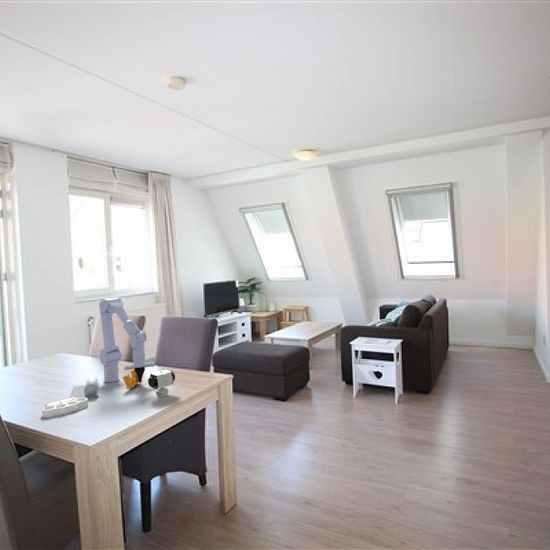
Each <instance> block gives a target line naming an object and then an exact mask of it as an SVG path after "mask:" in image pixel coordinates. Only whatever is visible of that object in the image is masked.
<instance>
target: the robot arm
mask: <svg viewBox="0 0 550 550" xmlns="http://www.w3.org/2000/svg"><path fill="white" fill-rule="evenodd" d="M98 304H99V305H98V307H99V315H100V319H101V320H100V322H101V327H102V328H101V329H102V337H103V347H102V348H101V349H100V351H99V362H100V364H102V365H103V376H104V377H103V383H105V382H106V383H111V382H118V381H119V382H120V379H121V378H120V374H119V373H120V372H119V371H120V370H119V363H120V361H121V359H122V353H121V349H120V347H119V346H118V345H116V341H115V332H114V325H113V324H114V322H113V315H114V314H115V315H116V316H117V317H118V318H119V319H120V321H121V322H122V324H123V328H124V330H125V332H126V333H127V334H128V336H129V338H128V340H129V343H130V346H131V349H132V363H133V364H128V365H123V369H124V371H127V370H128V371H129V370H135V372H136V374H137V376H138V379H139V382H138V384H139V383H142V380H143V376H144V373H145V371H146V368H149V367H151V368H152V367H155V362H154V361H149V362H146V355H145V342H146V341H147V334H146V332H145V331H143V330H142V329H140V328H139V327H138V325H137V324H136V322H135V321H134V320H131V319H130V318H129V316H128V314H127V312H126V310H125V309H124V302H123V301H122V299H121V298H120V297H119V296H118V297H112V298H103V299H101V300H100V302H99V303H98Z"/></svg>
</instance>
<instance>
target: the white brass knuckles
mask: <svg viewBox="0 0 550 550" xmlns="http://www.w3.org/2000/svg"><path fill="white" fill-rule="evenodd" d="M86 406H87V407H89V399H88V398H75V397H72V398H70V397H69V398H67V399H62V400H58V401H54V402H51V403H46V404H44V407H43V408H41V414H42V415H41V416H42V418H52V417H55V415H56V416H63V415H62V414H64V415H67V414H69V413H68V412H70V413H73V412H72V411H75V412H77V411H79V410H81V409H83V408H82V407H85V408H87V407H86ZM80 408H81V409H80ZM78 409H79V410H78ZM76 410H77V411H76ZM66 413H67V414H66ZM51 416H52V417H51Z"/></svg>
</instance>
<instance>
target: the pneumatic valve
mask: <svg viewBox="0 0 550 550" xmlns="http://www.w3.org/2000/svg"><path fill="white" fill-rule="evenodd" d="M175 380H176V375H175V372H174V371H173V370H169V369H164V370H163V369H160V371H158V372H153V373H150V376H149V377H148V378H147V385H148V386H149V387H150V388H152V389H154V390H156V392H155V394H156V396H157V397H160V398H163V397H167V396H168V395H169V388H168V387H169V386H171V385H174V383H175Z"/></svg>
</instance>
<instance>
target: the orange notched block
mask: <svg viewBox="0 0 550 550" xmlns="http://www.w3.org/2000/svg"><path fill="white" fill-rule="evenodd" d="M130 374H131V376H130ZM130 374H126V375H123V376H122V379H123V382H124V384H125V387H126V389H127V390H130V389H132V388H134V387H135V386H136V385H137V384H139V379H138V376H137V374H136V372H135V370H134V369H131V371H130Z"/></svg>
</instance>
